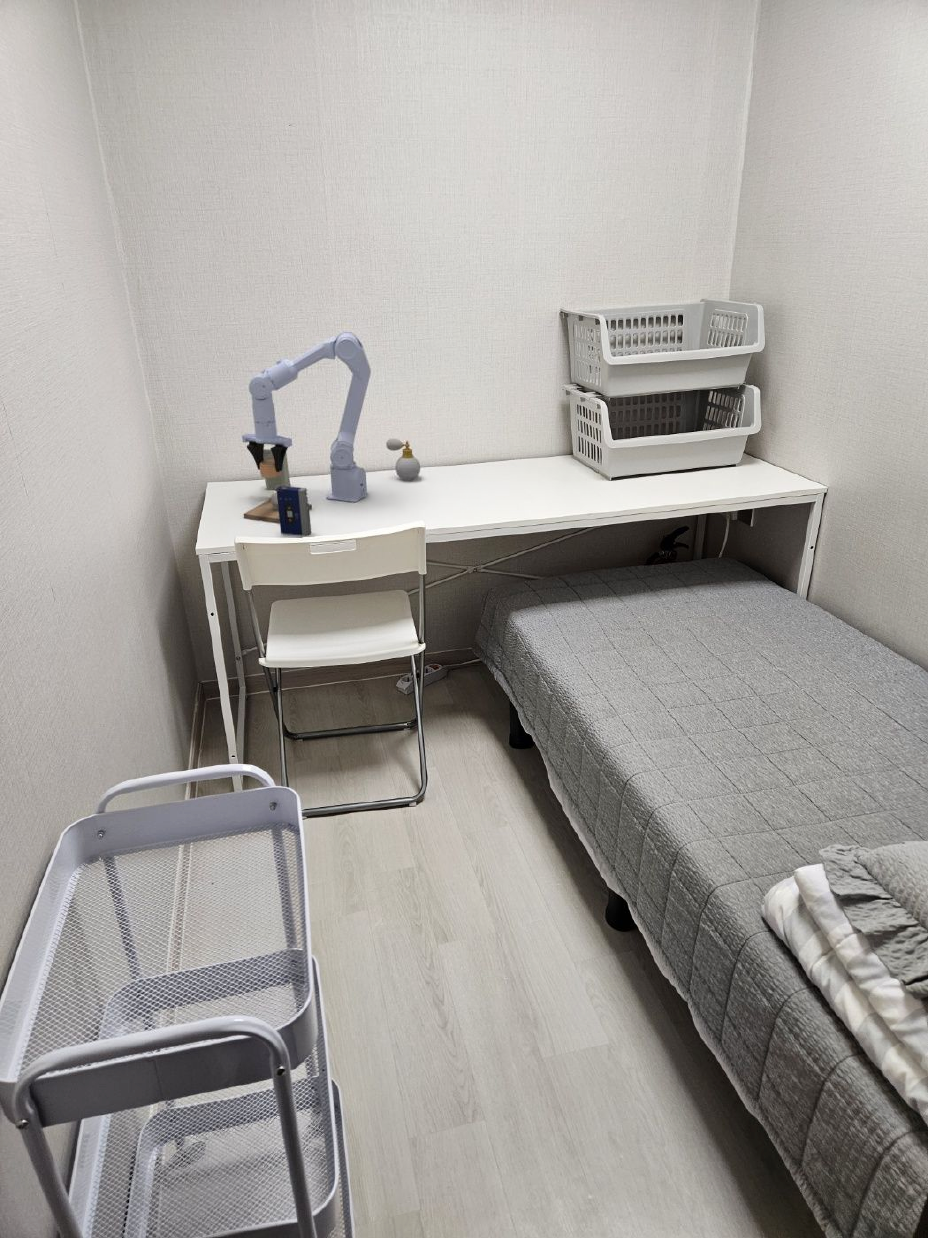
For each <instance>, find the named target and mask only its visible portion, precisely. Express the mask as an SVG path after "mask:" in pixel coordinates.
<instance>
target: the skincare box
mask: <svg viewBox="0 0 928 1238" xmlns="http://www.w3.org/2000/svg"><path fill="white" fill-rule="evenodd" d="M274 446H275V445H270V444H264V452H263V456H264V461H265V460H274V457H273V454H272V451H271V448H272V447H274ZM288 463H289V461H288V455H287V453H286V454H285V457H284V461H283V467H282V471H281V475H279V476H277V477H272V478H266V477H264V479H265V480H264V481H265V487H266V490H269V491H270V490H272V491H276V489H277V488H278V487H279V486H285V487H291V480H290V471H289V470H290V469H289V464H288Z"/></svg>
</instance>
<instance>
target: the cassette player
mask: <svg viewBox="0 0 928 1238" xmlns="http://www.w3.org/2000/svg"><path fill="white" fill-rule="evenodd" d="M275 491H276V493H277V500H278V510H279V519H280V523H279V526H280V534H284V535H285V534H287V535H294V536H295V535H297V536H309V535H311V533H312V524H311V515H310V510H309V504H310V503H309V501H308V492H307V491H308V489H307V488H306V487H299V486H298V487H296V486H295V487H294V486H289V487H285V486H279V487H278V488H277V489H276V490H275Z"/></svg>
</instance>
